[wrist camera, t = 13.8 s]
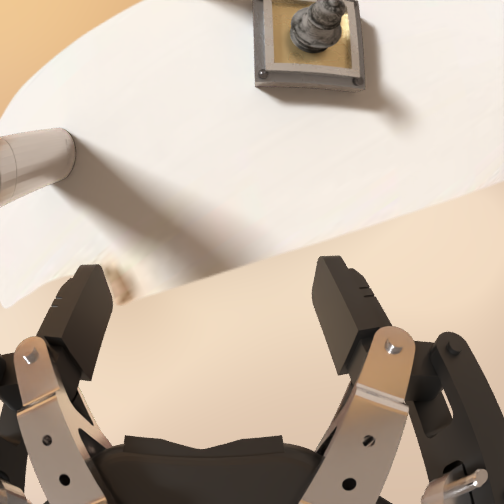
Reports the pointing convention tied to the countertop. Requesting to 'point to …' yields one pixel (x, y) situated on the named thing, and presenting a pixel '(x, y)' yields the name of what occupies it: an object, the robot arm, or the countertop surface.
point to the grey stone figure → (317, 25)
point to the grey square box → (303, 63)
